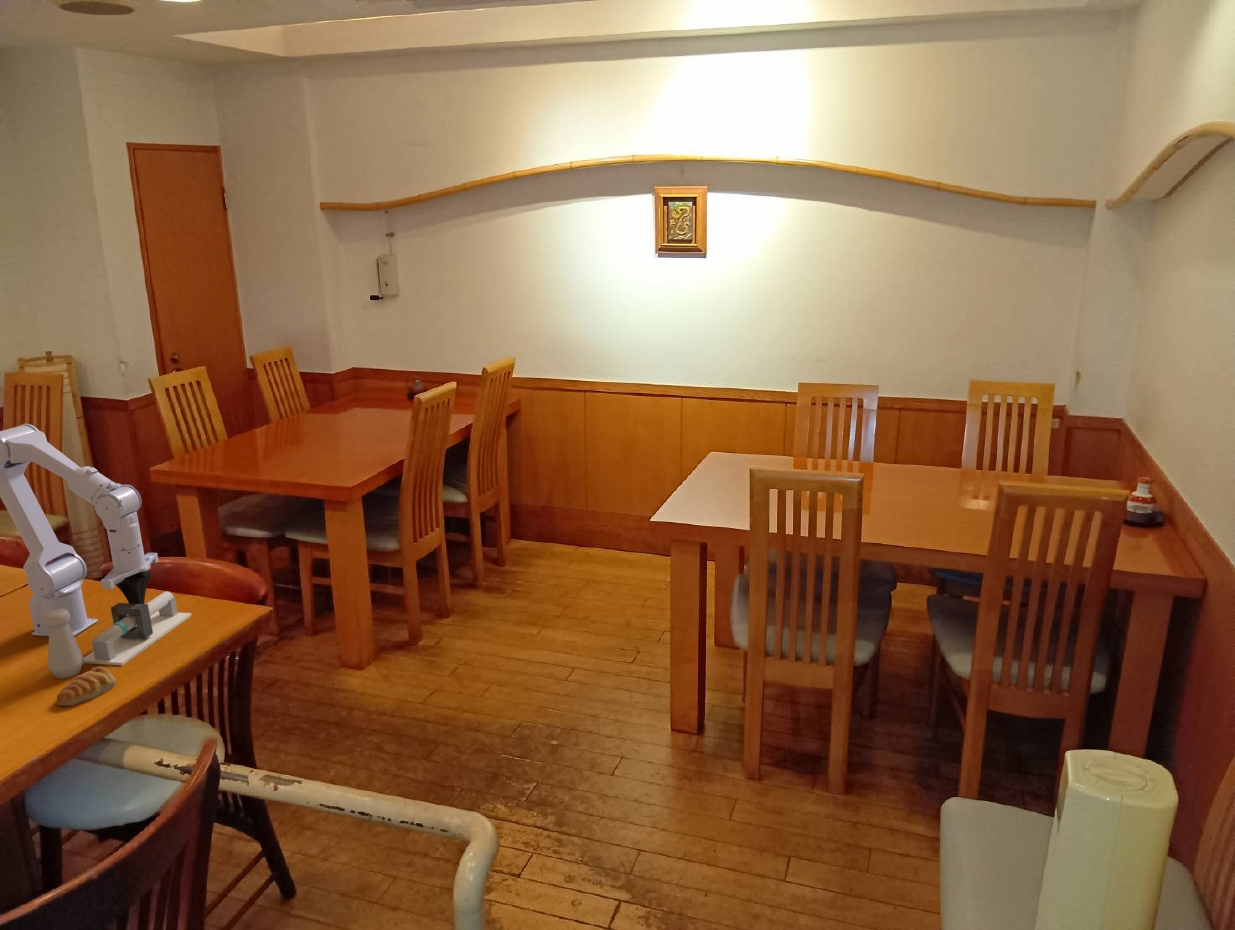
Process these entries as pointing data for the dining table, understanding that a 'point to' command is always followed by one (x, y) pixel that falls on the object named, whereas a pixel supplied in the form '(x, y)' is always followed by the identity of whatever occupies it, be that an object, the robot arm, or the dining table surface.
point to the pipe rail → (121, 649)
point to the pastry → (86, 687)
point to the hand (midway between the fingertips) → (137, 607)
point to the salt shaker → (62, 645)
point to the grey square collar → (141, 618)
